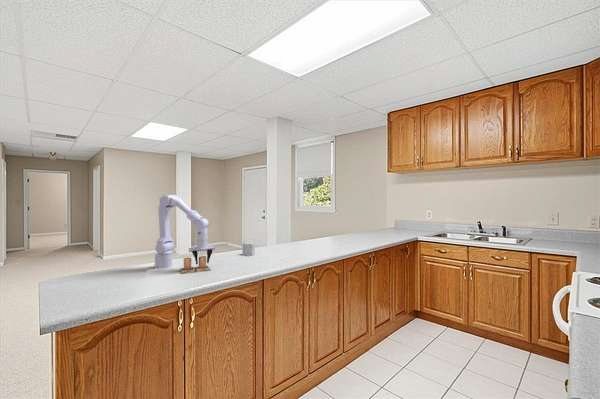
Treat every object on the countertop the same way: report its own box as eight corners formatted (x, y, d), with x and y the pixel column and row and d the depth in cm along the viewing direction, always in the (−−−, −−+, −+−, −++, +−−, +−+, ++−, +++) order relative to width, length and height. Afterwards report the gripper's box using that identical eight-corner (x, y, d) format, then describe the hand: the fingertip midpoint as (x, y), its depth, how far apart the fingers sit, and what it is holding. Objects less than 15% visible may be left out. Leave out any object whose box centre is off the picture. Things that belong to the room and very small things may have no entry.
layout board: (180, 276, 153) (180, 272, 153) (179, 270, 163) (179, 267, 163) (211, 272, 160) (211, 268, 160) (208, 267, 171) (208, 264, 171)
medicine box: (254, 254, 207) (254, 242, 207) (252, 256, 203) (251, 244, 203) (245, 254, 210) (245, 242, 210) (242, 255, 205) (242, 243, 205)
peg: (184, 271, 157) (183, 259, 157) (183, 270, 161) (183, 257, 161) (191, 271, 159) (191, 258, 159) (191, 269, 163) (190, 257, 162)
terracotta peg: (199, 270, 161) (199, 257, 161) (198, 268, 164) (198, 256, 164) (206, 269, 163) (206, 257, 163) (205, 267, 166) (205, 255, 166)
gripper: (189, 241, 156) (189, 266, 157) (216, 240, 163) (216, 263, 163) (188, 240, 163) (188, 263, 163) (214, 238, 169) (214, 261, 169)
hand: (202, 263), depth 163 cm, fingers open, 5 cm apart
